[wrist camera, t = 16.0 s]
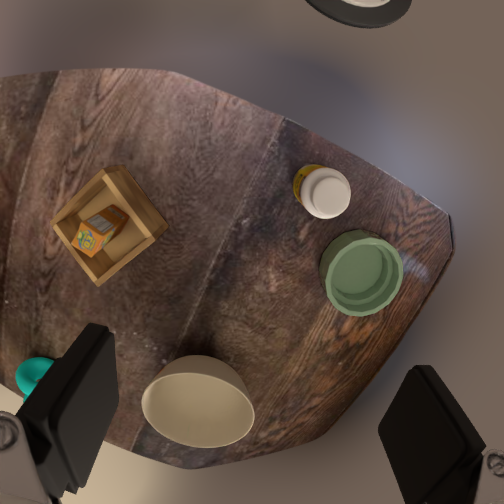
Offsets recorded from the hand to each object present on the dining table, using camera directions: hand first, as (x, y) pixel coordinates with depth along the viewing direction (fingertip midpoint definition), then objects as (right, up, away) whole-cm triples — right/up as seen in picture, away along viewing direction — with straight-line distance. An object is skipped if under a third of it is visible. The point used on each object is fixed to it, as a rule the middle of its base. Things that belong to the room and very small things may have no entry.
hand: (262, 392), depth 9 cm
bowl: (-8, -15, +41) cm, 45 cm away
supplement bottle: (+8, +13, +32) cm, 35 cm away
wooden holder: (-19, +9, +33) cm, 39 cm away
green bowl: (+14, +2, +36) cm, 39 cm away
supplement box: (-19, +9, +32) cm, 38 cm away
